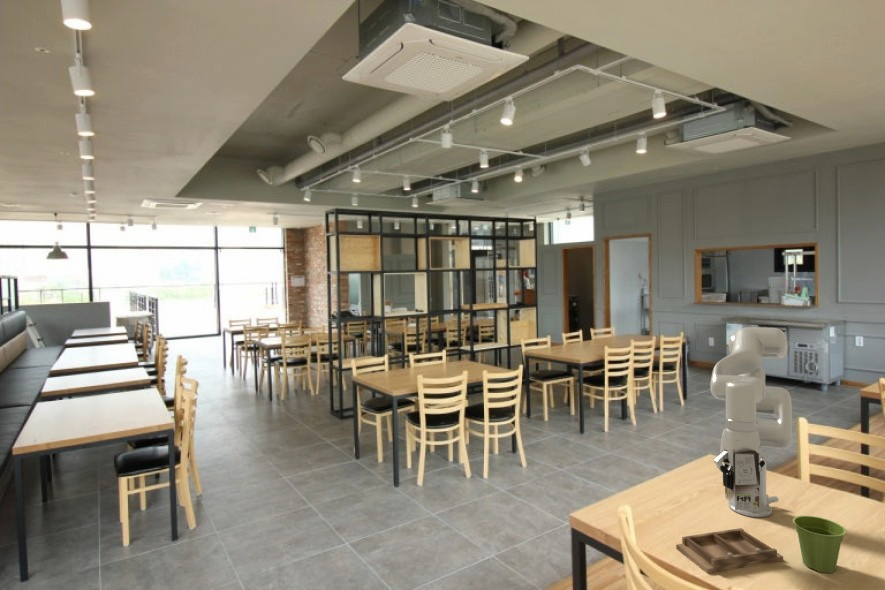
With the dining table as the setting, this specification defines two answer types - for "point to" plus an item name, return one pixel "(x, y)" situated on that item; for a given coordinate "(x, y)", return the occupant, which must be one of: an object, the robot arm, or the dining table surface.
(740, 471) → the coffee box
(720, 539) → the divided wooden tray
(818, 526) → the plant pot
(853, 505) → the dining table surface
